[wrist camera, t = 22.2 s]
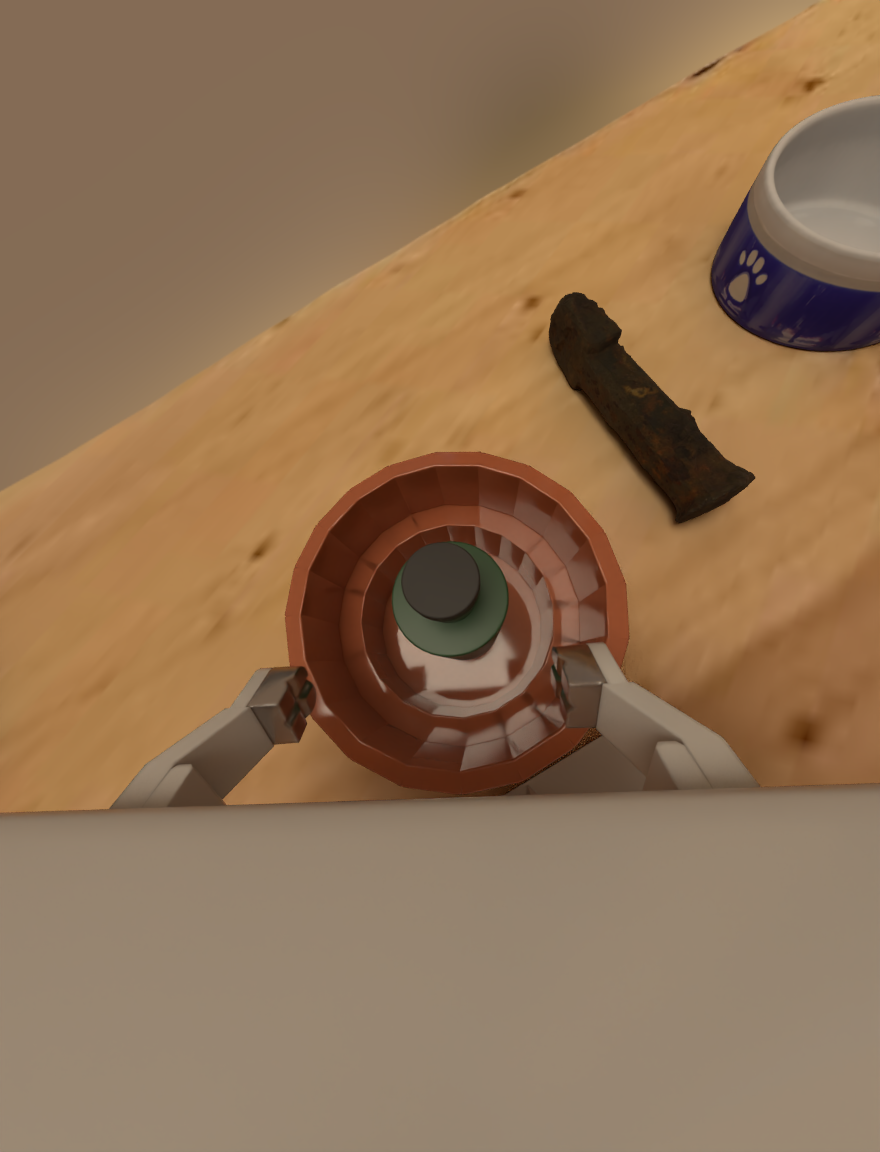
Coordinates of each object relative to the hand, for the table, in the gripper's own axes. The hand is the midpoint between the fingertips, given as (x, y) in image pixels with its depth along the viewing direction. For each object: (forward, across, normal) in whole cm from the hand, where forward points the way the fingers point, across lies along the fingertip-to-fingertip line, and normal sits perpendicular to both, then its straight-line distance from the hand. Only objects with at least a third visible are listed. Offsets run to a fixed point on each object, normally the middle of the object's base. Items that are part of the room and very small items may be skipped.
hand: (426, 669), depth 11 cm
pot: (+10, -1, +6) cm, 12 cm away
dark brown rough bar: (+20, -13, -4) cm, 25 cm away
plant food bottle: (+10, -1, +6) cm, 11 cm away
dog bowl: (+28, -31, -11) cm, 43 cm away
